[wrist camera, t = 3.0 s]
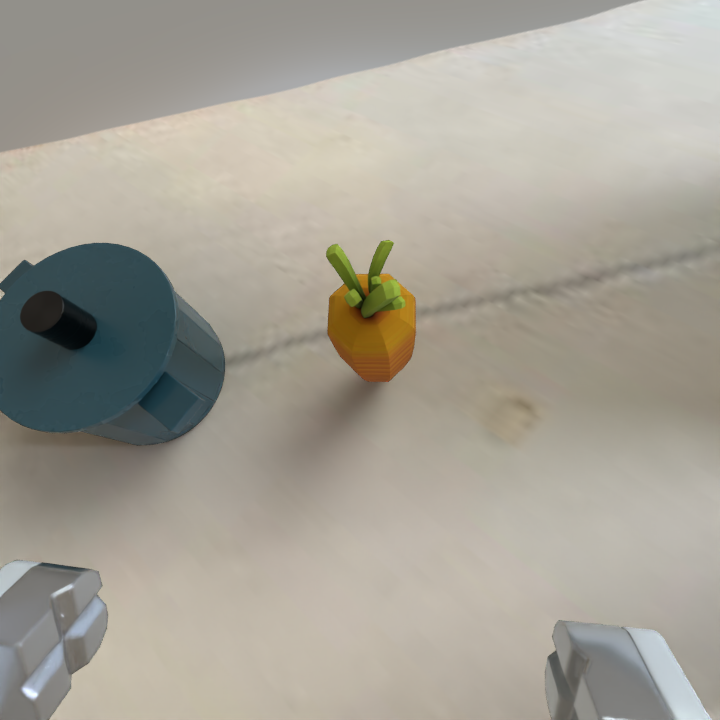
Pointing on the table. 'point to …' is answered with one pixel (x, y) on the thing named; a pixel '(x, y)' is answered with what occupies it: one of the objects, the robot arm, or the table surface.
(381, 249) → the carrot
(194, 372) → the pot
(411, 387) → the table surface
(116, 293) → the pot lid
